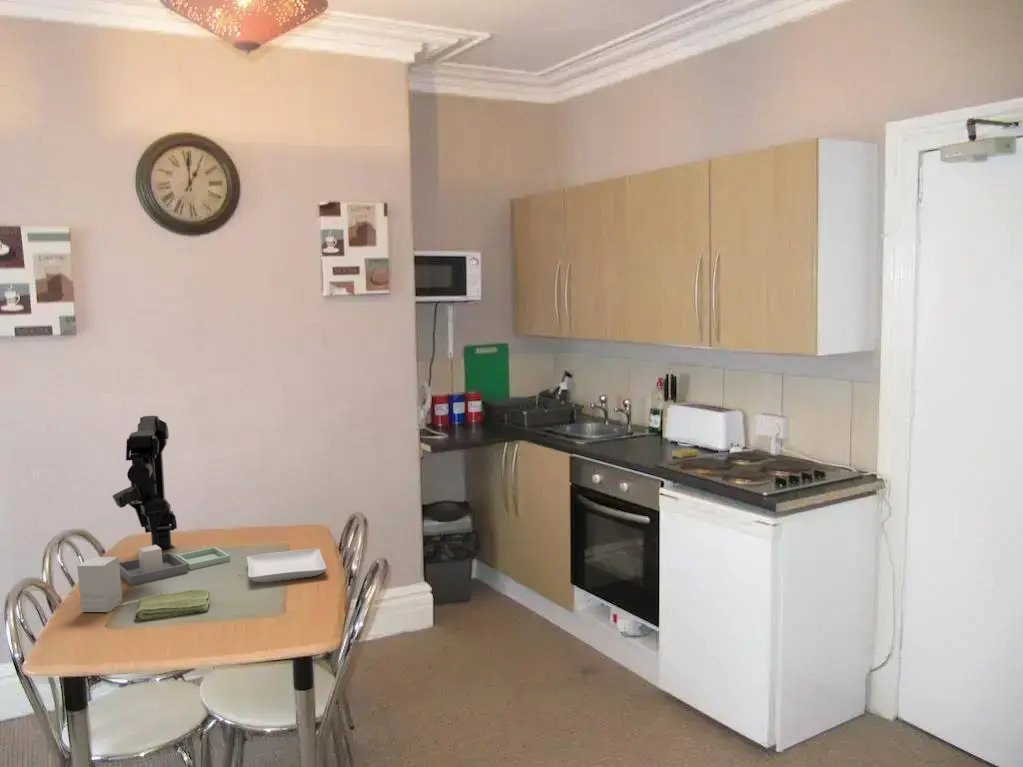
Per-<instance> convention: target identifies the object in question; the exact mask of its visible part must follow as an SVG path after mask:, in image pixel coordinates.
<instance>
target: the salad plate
mask: <svg viewBox="0 0 1023 767" xmlns="http://www.w3.org/2000/svg"><path fill="white" fill-rule="evenodd" d="M246 561H247V567H248V568H247V577H248V579H249V580H250V581H253V582H256V583H263V582H267V583H274V581H277V582H282V581H281V580H285V581H289V580H288V579H293V580H296V579H295V578H301V579H305V578H304V577H308V578H312V576H313V577H317V576H320V575H321V574H322V575H323V573H324V572H325V571H326V570H327V565H326V563H325V561H324V559H323V556H322V552H321V550H320V548H308V549H297V550H289V551H280V552H279V551H277V552H270V553H268V552H267V553H261V554H254V555H248V556H247V557H246Z"/></svg>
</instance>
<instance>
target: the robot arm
mask: <svg viewBox="0 0 1023 767" xmlns="http://www.w3.org/2000/svg"><path fill="white" fill-rule="evenodd" d="M139 418H140V419H139V423H138V424H137V430H136V431H134V432H133V431H132V432H131V433H130V434H129V436H128V438H126V446H125V447H126V449H125V460H126V461H125V462H127V461H131V466H130V467H129V468H128V469H127V474H126V475H127V479H128V480H129V482H130V486H128V487H127V488H124V489H122V490H120V491H119V492H117V493H115V494H113V495H112V499H113V500H114V503H115V504H116V506H117V507H119V508H124V507H127V505H129V506H130V507H131V508H133V509H134V511H135V513H136V515H137V519H138V521H139V524H140V527H141V528H144V532H145V533H146V534H148V533H150V540H151V546H152V545H157V546H159V547H160V548H161V549H162V551H165V550H170V549H174V548H176V546H174V544H172V536H171V534H172V532H171V531H175V530H177V529H178V524H177V518H176V515H175V514H174V511H172V507H171V503H169V501H168V500H167V499H166V496H165V479H164V475H165V474H164V463H163V462H164V460H163V458H164V457H163V451H164V450H165V448H166V446H167V444H168V439H169V435H170V434H169V433H170V432H169V428H168V424H167V422H165V421H163V420H161V419H160V417H159V415H158V416H157V415H145V416H144V415H142V416H140V417H139Z"/></svg>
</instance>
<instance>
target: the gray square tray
mask: <svg viewBox="0 0 1023 767" xmlns="http://www.w3.org/2000/svg"><path fill="white" fill-rule="evenodd" d="M162 562H163V569H160V570H155V571H151V572H146V573H141V572H140V566H139V558H135V559H131V560H126V561H125V560H124V561H121V562H120V561H119V568H120V578H121V579H123V580H124V581H125V582H127V583H128V584H129V586H134V585H139V584H143V583H147V582H152V581H156V580H161V579H166V578H170V577H174V576H178V575H179V576H180V575H182V574H187V573H189V569H188V565H187V564H186V563H185V562H183V561H182V560H181V559H179V558H178V557H176V554H173V553H172V552H170V551H169V552H164V553H163V552H162Z"/></svg>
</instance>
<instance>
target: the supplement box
mask: <svg viewBox="0 0 1023 767" xmlns="http://www.w3.org/2000/svg"><path fill="white" fill-rule="evenodd" d="M119 560H120V559H119V556H93V557H91V558H90V557H89V558H88V559H87V560H84V562H81V563H79V565H77V566H76V567H77V576H78V578H77V579H78V586H79V587H78V588H79V596H80V606H81V613H82V612H108V613H110V612H112V611H113V610H114V609H116V608H117V607H119V606H121V605H122V604H123V592H122V581H121V579H122V578H121V576H120V568H119V563H120V561H119ZM115 607H116V608H115ZM112 609H113V610H112ZM109 611H110V612H109Z"/></svg>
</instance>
